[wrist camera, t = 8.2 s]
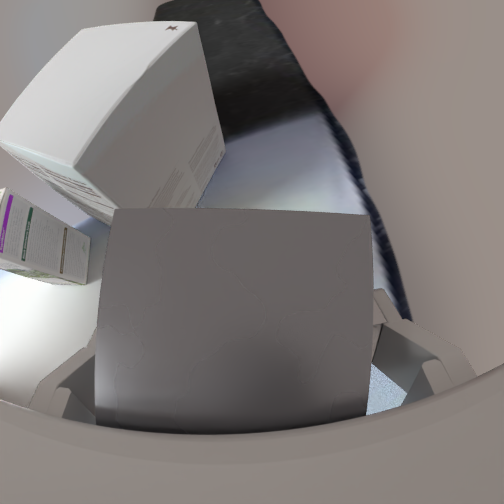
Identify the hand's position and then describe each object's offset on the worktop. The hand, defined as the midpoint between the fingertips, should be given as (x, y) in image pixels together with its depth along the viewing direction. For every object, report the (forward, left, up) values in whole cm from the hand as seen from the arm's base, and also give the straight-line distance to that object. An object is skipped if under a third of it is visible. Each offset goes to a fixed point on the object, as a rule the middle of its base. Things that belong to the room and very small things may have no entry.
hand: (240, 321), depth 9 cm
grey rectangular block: (0, -1, -5) cm, 5 cm away
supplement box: (-13, +14, -18) cm, 26 cm away
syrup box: (-22, +4, -18) cm, 29 cm away
